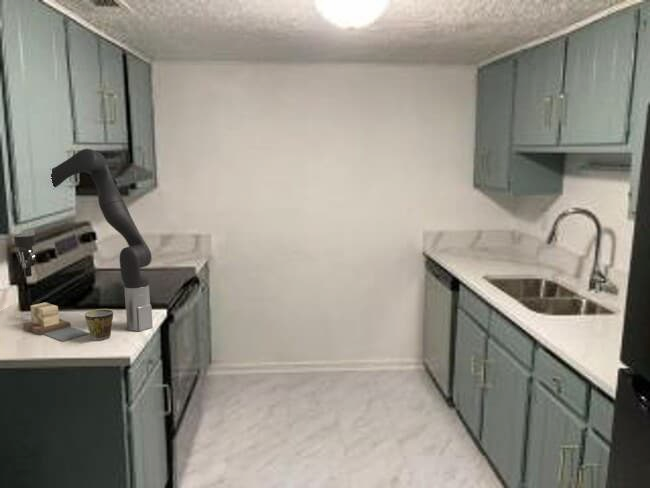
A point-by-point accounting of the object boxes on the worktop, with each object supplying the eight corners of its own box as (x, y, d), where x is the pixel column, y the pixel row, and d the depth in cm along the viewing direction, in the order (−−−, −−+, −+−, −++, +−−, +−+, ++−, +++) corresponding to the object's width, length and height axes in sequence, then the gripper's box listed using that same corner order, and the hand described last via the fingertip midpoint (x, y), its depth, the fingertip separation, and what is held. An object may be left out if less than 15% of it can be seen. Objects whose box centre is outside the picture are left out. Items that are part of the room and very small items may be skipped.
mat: (89, 333, 214) (89, 333, 214) (62, 341, 205) (62, 341, 205) (70, 327, 222) (70, 326, 222) (43, 334, 213) (43, 333, 213)
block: (59, 323, 221) (57, 306, 220) (44, 326, 216) (42, 309, 215) (46, 318, 227) (45, 302, 226) (32, 322, 222) (30, 305, 221)
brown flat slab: (70, 327, 222) (70, 322, 222) (40, 335, 213) (40, 330, 212) (53, 321, 230) (52, 316, 230) (23, 328, 221) (23, 323, 221)
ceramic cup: (89, 334, 213) (87, 309, 211) (116, 332, 215) (114, 307, 213) (83, 346, 200) (80, 319, 199) (112, 343, 203) (110, 317, 201)
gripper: (41, 234, 222) (45, 276, 224) (25, 232, 229) (29, 272, 232) (22, 237, 216) (26, 280, 219) (6, 234, 223) (11, 275, 226)
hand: (28, 276), depth 225 cm, fingers closed
